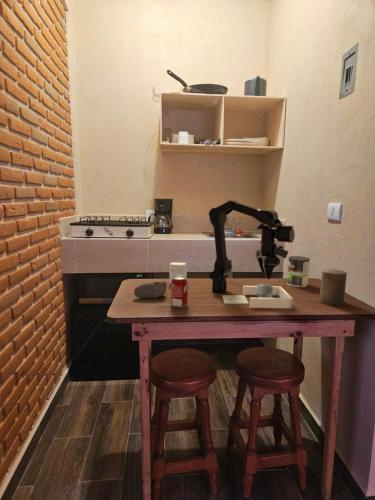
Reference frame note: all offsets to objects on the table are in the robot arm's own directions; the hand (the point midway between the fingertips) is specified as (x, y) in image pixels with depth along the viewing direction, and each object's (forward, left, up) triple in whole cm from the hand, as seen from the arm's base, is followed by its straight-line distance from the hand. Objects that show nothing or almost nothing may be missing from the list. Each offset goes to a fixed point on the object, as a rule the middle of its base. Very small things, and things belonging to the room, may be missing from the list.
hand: (265, 276), depth 135 cm
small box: (-39, +26, -11) cm, 48 cm away
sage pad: (-13, 0, -11) cm, 17 cm away
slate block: (0, 0, -11) cm, 11 cm away
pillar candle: (+29, 0, -11) cm, 31 cm away
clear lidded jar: (+23, +27, -11) cm, 37 cm away
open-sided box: (0, 0, -11) cm, 11 cm away
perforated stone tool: (-50, +2, -11) cm, 51 cm away
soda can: (-37, -8, -11) cm, 39 cm away
